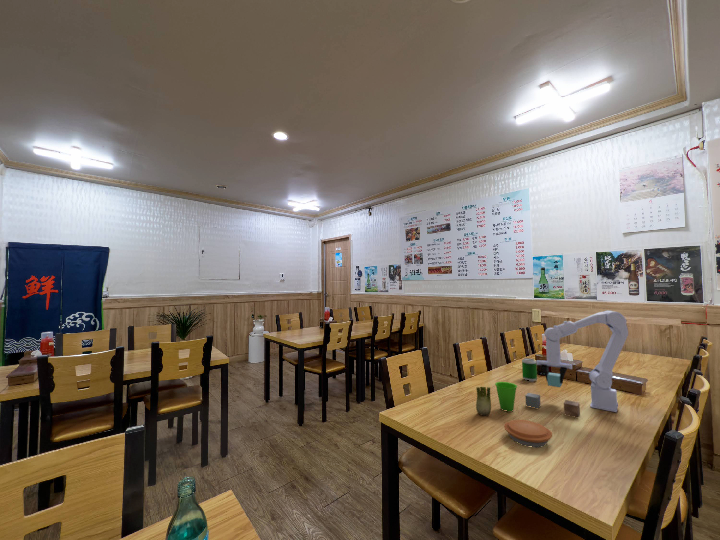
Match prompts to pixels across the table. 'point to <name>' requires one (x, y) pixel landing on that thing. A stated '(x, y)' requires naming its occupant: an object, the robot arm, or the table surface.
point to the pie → (528, 433)
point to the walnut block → (571, 408)
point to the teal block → (553, 379)
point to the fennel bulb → (483, 401)
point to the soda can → (529, 369)
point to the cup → (506, 395)
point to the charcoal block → (532, 400)
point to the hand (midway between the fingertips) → (554, 382)
